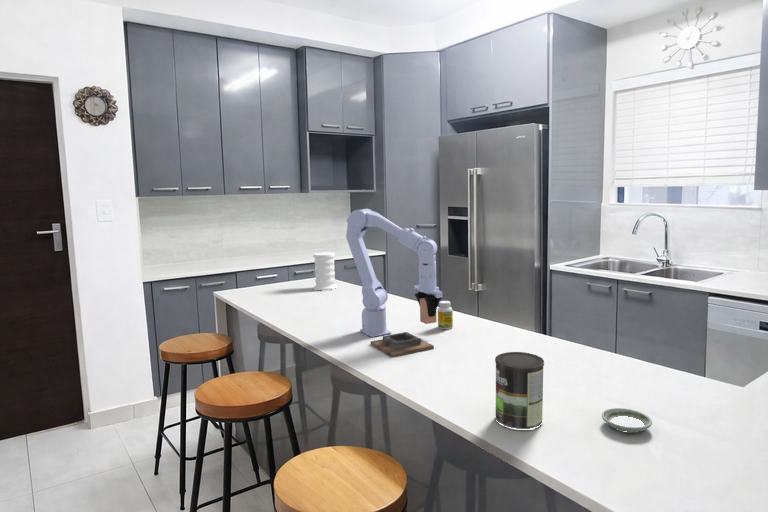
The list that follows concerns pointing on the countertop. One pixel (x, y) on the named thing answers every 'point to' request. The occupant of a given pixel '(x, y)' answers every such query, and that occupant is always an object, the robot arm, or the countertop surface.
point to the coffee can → (519, 389)
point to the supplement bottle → (445, 315)
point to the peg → (425, 313)
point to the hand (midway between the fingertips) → (428, 314)
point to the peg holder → (401, 344)
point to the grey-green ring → (616, 412)
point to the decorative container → (324, 271)
